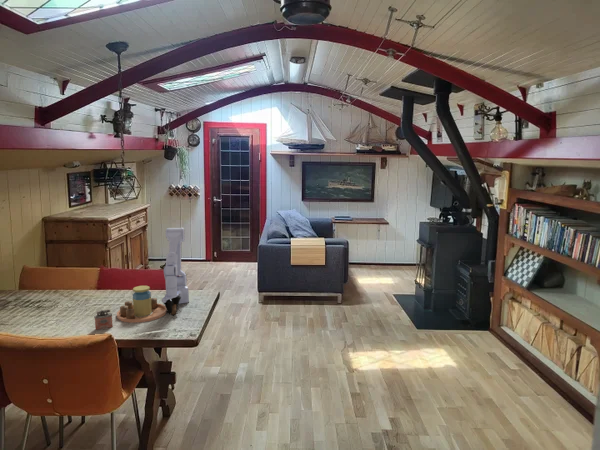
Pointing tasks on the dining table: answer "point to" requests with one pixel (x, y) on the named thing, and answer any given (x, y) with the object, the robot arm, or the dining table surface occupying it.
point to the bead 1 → (154, 303)
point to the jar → (142, 301)
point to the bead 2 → (173, 309)
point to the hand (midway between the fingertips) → (172, 311)
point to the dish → (156, 314)
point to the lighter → (103, 320)
